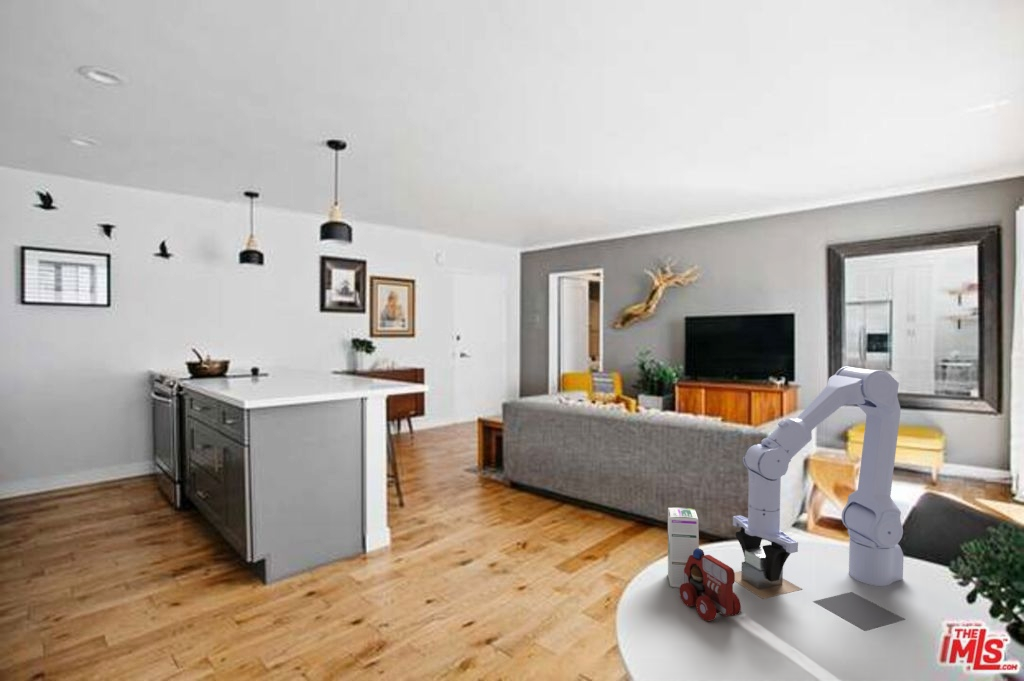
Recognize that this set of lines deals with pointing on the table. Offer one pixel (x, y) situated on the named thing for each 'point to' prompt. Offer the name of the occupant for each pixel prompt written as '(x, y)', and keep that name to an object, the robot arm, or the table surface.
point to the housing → (757, 570)
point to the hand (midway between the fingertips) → (762, 573)
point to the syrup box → (681, 542)
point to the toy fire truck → (709, 586)
